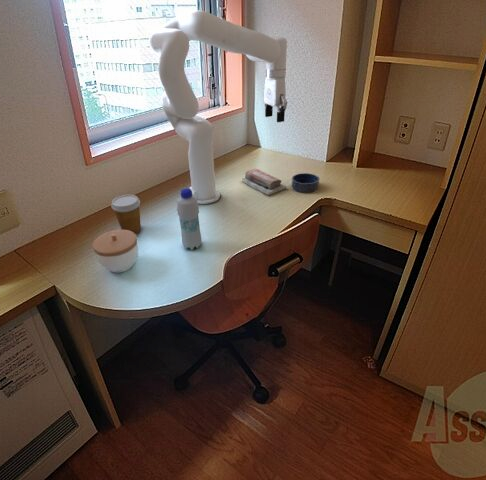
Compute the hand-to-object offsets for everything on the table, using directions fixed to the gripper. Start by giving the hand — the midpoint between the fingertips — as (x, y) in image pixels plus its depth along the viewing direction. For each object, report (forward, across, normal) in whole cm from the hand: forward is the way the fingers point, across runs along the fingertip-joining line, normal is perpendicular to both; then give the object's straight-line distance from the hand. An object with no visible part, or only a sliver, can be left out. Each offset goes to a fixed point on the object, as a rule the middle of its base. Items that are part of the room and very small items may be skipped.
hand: (274, 119), depth 148 cm
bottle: (+25, +38, -51) cm, 68 cm away
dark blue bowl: (+24, +18, +5) cm, 31 cm away
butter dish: (+25, +9, -9) cm, 28 cm away
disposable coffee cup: (+25, +20, -67) cm, 74 cm away
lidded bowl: (+25, +39, -74) cm, 87 cm away
